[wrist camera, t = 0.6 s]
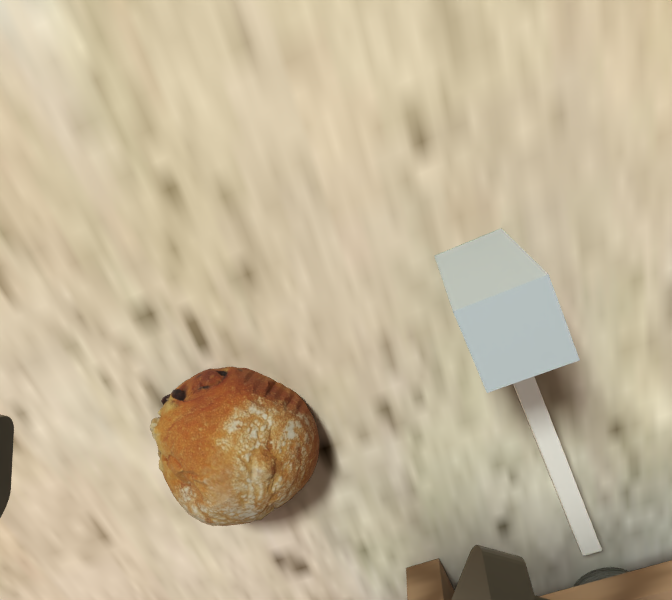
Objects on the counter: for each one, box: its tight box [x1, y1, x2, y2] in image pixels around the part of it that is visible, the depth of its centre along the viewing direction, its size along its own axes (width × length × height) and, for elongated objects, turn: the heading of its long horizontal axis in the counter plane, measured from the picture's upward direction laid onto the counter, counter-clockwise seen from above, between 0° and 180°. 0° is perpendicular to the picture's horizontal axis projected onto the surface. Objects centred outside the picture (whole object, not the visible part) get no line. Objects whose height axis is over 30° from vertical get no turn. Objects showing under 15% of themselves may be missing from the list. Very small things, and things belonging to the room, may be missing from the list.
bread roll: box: [150, 367, 319, 526], centre depth 36 cm, size 10×10×8 cm
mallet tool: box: [435, 229, 602, 556], centre depth 30 cm, size 4×21×10 cm, turn 25°
